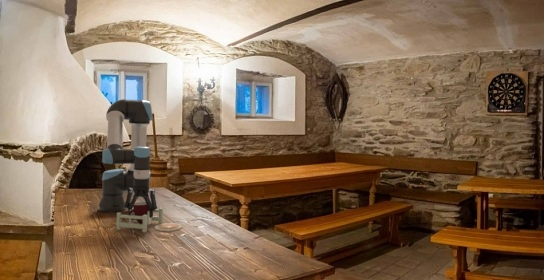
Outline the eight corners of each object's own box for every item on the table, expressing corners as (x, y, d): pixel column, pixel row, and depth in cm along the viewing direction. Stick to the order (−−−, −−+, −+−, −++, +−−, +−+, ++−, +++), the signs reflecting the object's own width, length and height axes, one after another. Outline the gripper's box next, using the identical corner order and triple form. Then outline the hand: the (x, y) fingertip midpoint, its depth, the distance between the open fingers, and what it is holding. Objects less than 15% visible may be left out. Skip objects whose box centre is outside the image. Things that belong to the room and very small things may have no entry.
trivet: (149, 230, 197) (150, 228, 197) (162, 223, 210) (162, 221, 210) (175, 232, 195) (175, 230, 195) (186, 225, 208) (186, 224, 208)
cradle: (116, 229, 196) (116, 213, 195) (135, 221, 213) (136, 206, 213) (145, 232, 193) (145, 215, 193) (162, 223, 211) (163, 208, 210)
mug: (131, 227, 197) (130, 206, 197) (127, 224, 204) (126, 204, 204) (153, 223, 203) (152, 203, 202) (149, 220, 209) (147, 201, 209)
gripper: (117, 177, 201) (116, 222, 202) (158, 180, 197) (157, 226, 198) (125, 175, 208) (124, 219, 209) (165, 178, 204) (164, 223, 205)
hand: (140, 222), depth 203 cm, fingers closed on mug, 9 cm apart
